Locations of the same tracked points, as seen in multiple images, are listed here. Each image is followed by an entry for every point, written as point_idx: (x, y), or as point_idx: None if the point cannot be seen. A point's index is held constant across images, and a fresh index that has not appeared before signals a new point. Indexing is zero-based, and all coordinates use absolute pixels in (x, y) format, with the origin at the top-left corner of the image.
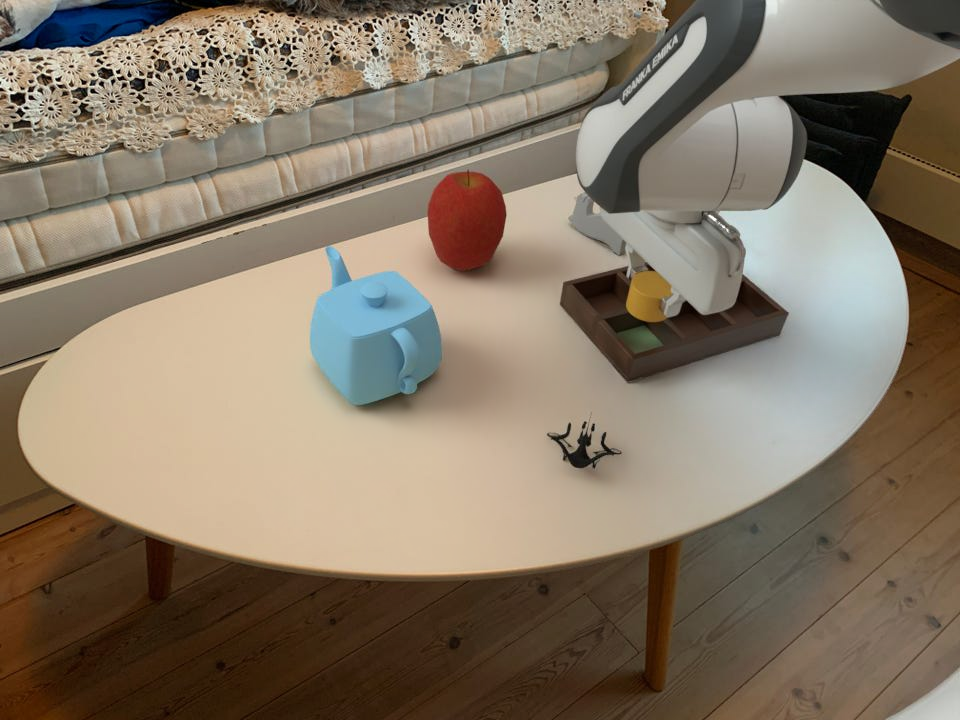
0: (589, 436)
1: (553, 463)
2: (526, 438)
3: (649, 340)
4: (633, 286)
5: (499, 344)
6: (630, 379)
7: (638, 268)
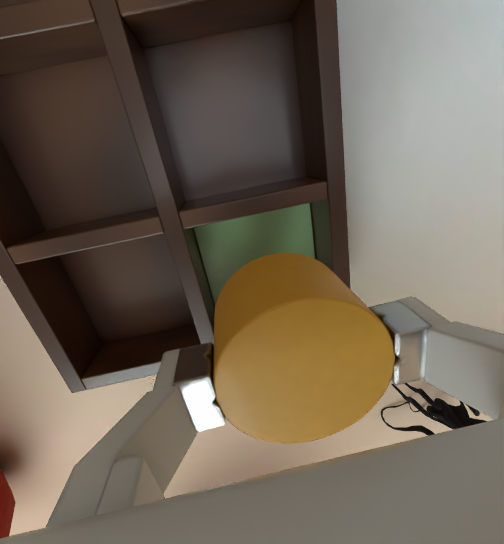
0: (438, 405)
1: (420, 418)
2: (375, 436)
3: (243, 228)
4: (297, 441)
5: (201, 442)
6: None
7: (198, 411)
